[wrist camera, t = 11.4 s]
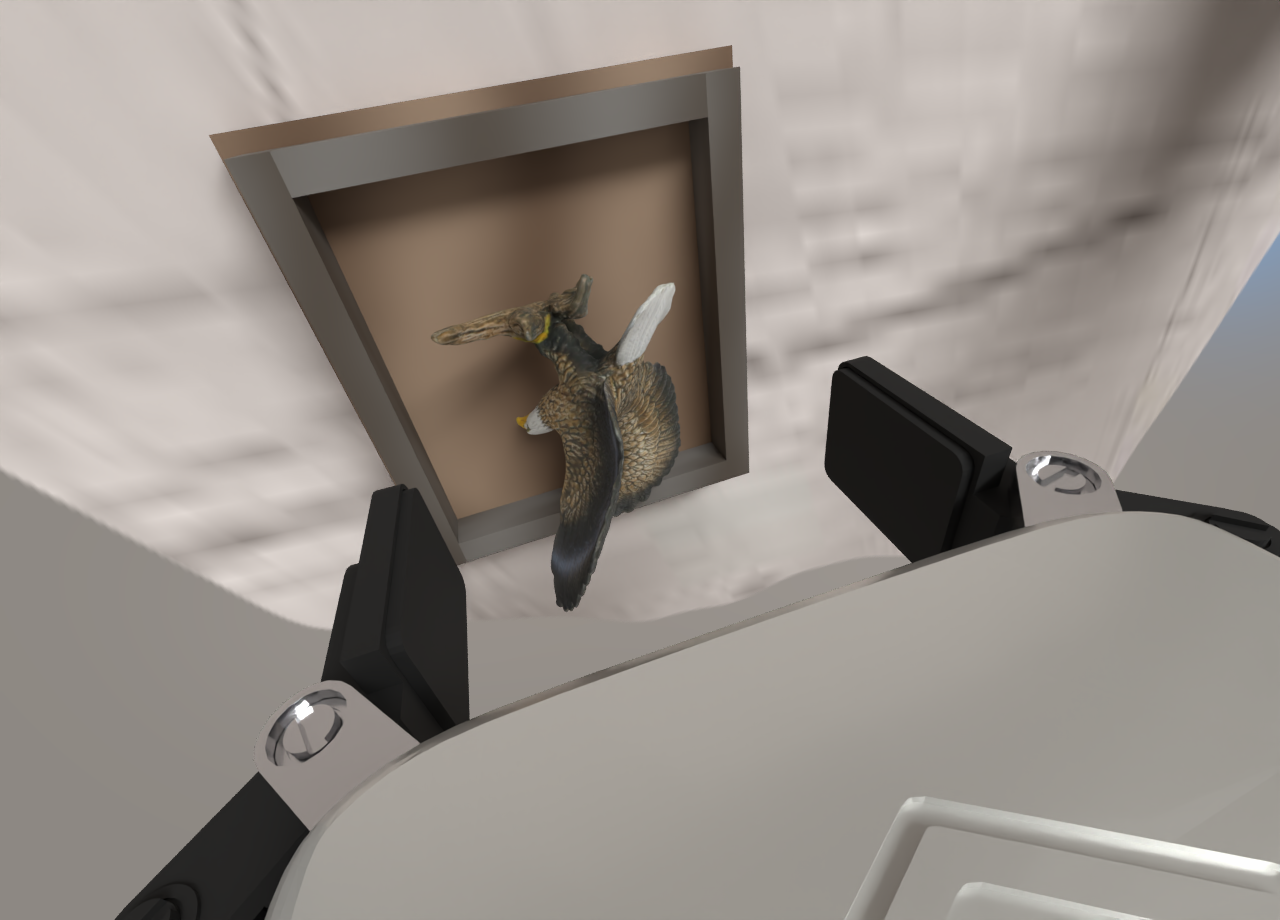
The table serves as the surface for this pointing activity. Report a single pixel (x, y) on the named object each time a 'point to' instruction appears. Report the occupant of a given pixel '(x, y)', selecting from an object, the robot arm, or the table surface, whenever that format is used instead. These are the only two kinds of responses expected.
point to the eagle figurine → (593, 417)
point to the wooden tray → (514, 268)
